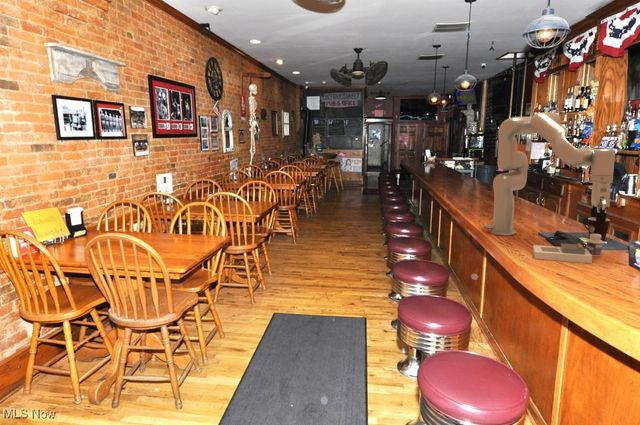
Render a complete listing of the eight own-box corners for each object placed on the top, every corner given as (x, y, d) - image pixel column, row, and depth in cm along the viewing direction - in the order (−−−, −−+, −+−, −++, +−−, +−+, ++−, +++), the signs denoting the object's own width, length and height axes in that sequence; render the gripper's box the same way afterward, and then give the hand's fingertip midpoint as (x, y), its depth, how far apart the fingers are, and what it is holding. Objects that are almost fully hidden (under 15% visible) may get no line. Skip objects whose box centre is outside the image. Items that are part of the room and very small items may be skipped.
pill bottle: (583, 253, 170) (584, 233, 168) (594, 252, 170) (596, 232, 168) (592, 257, 164) (594, 236, 163) (604, 256, 165) (606, 235, 163)
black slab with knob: (553, 251, 175) (554, 241, 174) (544, 238, 196) (545, 229, 195) (594, 253, 170) (595, 243, 169) (580, 240, 190) (581, 230, 189)
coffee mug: (611, 242, 184) (613, 221, 182) (590, 241, 186) (592, 221, 184) (599, 235, 195) (601, 216, 193) (580, 235, 197) (582, 216, 195)
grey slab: (563, 252, 162) (563, 246, 161) (560, 247, 168) (561, 241, 168) (584, 254, 159) (585, 247, 158) (581, 249, 165) (581, 242, 165)
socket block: (534, 258, 165) (535, 252, 164) (532, 251, 175) (533, 245, 174) (591, 263, 157) (592, 256, 156) (586, 255, 167) (586, 248, 166)
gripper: (618, 181, 151) (614, 224, 155) (607, 176, 167) (603, 216, 170) (595, 181, 154) (591, 223, 158) (586, 176, 170) (583, 215, 173)
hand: (597, 219), depth 164 cm, fingers open, 9 cm apart
